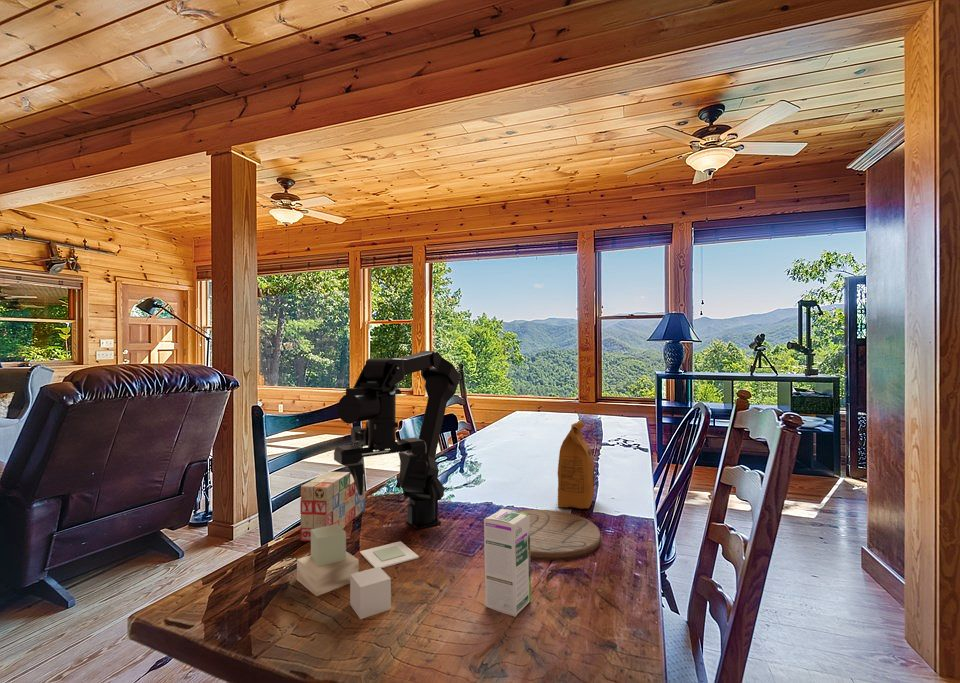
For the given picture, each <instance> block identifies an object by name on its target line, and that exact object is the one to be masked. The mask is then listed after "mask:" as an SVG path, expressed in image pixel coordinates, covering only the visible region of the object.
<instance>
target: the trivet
mask: <svg viewBox="0 0 960 683" xmlns="http://www.w3.org/2000/svg"><path fill="white" fill-rule="evenodd" d="M519 511H520V512H523V513H527V514H529V516H530V560H531V559H532V560H537V561H538V560H541V561H542V560H543V561H544V560H545V561H560V560H561V561H563V560H572V559H576V558H581V557H584V556H586V555H588V554H590V553H591V554H592V553H593V552H594V551H595V550H596V549H598V548H599V546H600V542H601V532H600V529H599V527H598V525H596V524H595V523H594V522H592V521H591V520H588V519H586V518H585V517H582V516H579V515H577V514H574V513H570V512H565V511H560V510H554V509H553V510H552V509H539V508H538V509H521V510H519Z"/></svg>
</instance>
